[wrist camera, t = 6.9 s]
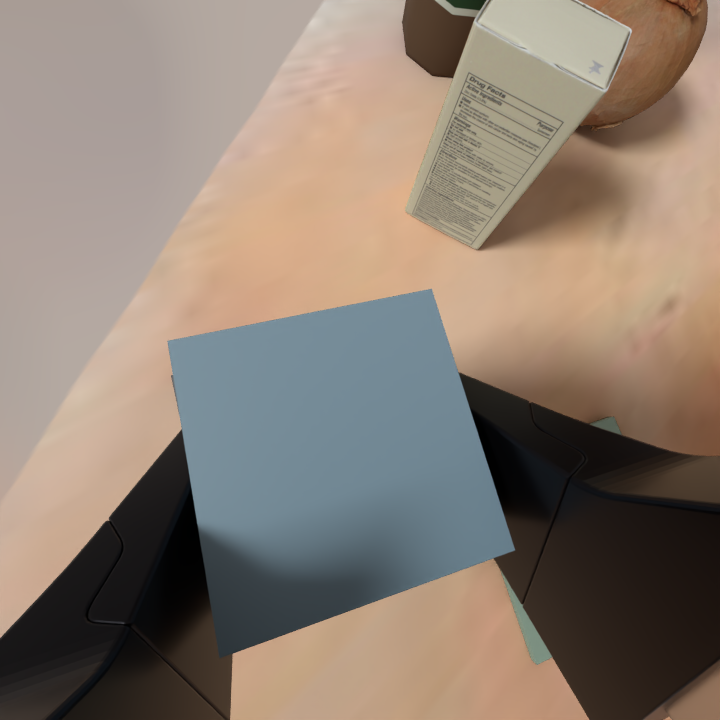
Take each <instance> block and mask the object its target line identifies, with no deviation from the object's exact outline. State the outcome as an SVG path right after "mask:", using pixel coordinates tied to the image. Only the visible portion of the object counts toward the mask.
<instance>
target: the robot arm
mask: <svg viewBox="0 0 720 720" xmlns="http://www.w3.org/2000/svg"><path fill="white" fill-rule="evenodd" d="M458 373H459V372H458ZM459 376H460V379H461V382H462V386H463V389H464V392H465V395H466V398H467V401H468V404H469V407H470V411H471V414H472V417H473V420H474V423H475V426H476V429H477V432H478V436H479V439H480V442H481V445H482V448H483V451H484V454H485V458H486V461H487V464H488V467H489V470H490V473H491V476H492V479H493V483H494V486H495V489H496V492H497V495H498V498H499V501H500V504H501V508H502V511H503V514H504V517H505V520H506V523H507V526H508V529H509V533H510V536H511V539H512V542H513V545H514V548H515V551H512V552H509V553H506V554H504V555H501V556H498V557H495V558H494V559H495V561H496V563H497V565H498V566H499V568H500V570H501V571H502V573H503V575H504V576H505V578H506V580H507V581H508V583H509V585H510V586H511V588H512V590H513V591H514V593H515V595H516V596H517V598H518V600H519V602H520V603H521V604H522V605H523V609H524V610H525V612H526V614H527V615H528V617H529V619H530V620H531V622H532V624H533V625H534V627H535V629H536V630H537V632H538V634H539V636H540V637H541V639H542V641H543V642H544V644H545V646H546V647H547V649H548V651H549V652H550V654H551V656H552V657H553V659H554V661H555V662H556V664H557V666H558V667H559V669H560V671H561V673H562V674H563V676H564V678H565V679H566V681H567V683H568V684H569V686H570V688H571V689H572V691H573V693H574V694H575V696H576V698H577V699H578V701H579V703H580V705H581V706H582V708H583V710H584V711H585V713H586V715H587V716H588V718H589V720H663V719H665V718H667V717H670V718H671V719H672V720H720V456H698V455H689V454H682V453H678V452H673V451H669V450H666V449H662V448H659V447H656V446H653V445H650V444H647V443H644V442H641V441H638V440H635V439H632V438H629V437H626V436H623V435H620V434H617V433H614V432H611V431H608V430H605V429H602V428H599V427H596V426H593V425H591V424H588V423H585V422H582V421H579V420H576V419H573V418H570V417H568V416H565V415H563V414H560V413H558V412H555V411H552V410H550V409H547V408H545V407H542V406H540V405H537V404H535V403H533V402H531V403H529V401H527V400H525V399H523V398H520V397H518V396H515V395H513V394H510V393H508V392H506V391H503V390H501V389H498V388H496V387H493V386H491V385H488V384H486V383H484V382H481V381H479V380H476V379H474V378H471V377H469V376H466V375H464V374H462V373H459ZM231 681H232V654H230V655H227V656H225V657H222V658H219V653H218V646H217V640H216V634H215V628H214V622H213V616H212V610H211V604H210V598H209V591H208V585H207V579H206V573H205V567H204V561H203V555H202V549H201V543H200V537H199V530H198V524H197V518H196V512H195V506H194V500H193V494H192V488H191V482H190V475H189V469H188V463H187V457H186V451H185V445H184V439H183V433H182V430H181V431H180V432H179V433H178V434H177V436H176V437H175V438H174V439H173V440H172V442H171V443H170V444H169V445H168V447H167V448H166V449H165V450H164V451H163V453H162V454H161V455H160V456H159V457H158V459H157V460H156V461H155V462H154V463H153V465H152V466H151V467H150V468H149V470H148V471H147V472H146V473H145V474H144V476H143V477H142V478H141V479H140V480H139V482H138V483H137V484H136V485H135V487H134V488H133V489H132V490H131V491H130V493H129V494H128V495H127V496H126V497H125V499H124V500H123V501H122V502H121V503H120V505H119V506H118V507H117V508H116V510H115V511H114V512H113V513H112V514H111V516H110V517H109V521H106V522H105V523H104V524H103V525H102V526H101V527H100V529H99V530H98V531H97V532H96V534H95V535H94V536H93V537H92V538H91V540H90V541H89V542H88V543H87V544H86V545H85V547H84V548H83V549H82V550H81V551H80V552H79V554H78V555H77V556H76V557H75V558H74V559H73V560H72V562H71V563H70V564H69V565H68V566H67V567H66V568H65V569H64V571H63V572H62V573H61V574H60V575H59V576H58V577H57V578H56V579H55V580H54V581H53V583H52V584H51V585H50V586H49V587H48V588H47V589H46V590H45V591H44V592H43V593H42V595H41V596H40V597H39V598H38V599H37V600H36V601H35V602H34V603H33V604H32V605H31V606H30V607H29V608H28V609H27V610H26V611H25V613H24V614H23V615H22V616H21V617H20V618H19V619H18V620H17V621H16V622H15V623H14V624H13V625H12V626H11V627H10V628H9V629H8V630H7V632H6V633H5V634H4V635H3V636H2V637H1V638H0V720H230V708H231Z"/></svg>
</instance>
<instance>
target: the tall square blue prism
mask: <svg viewBox="0 0 720 720" xmlns="http://www.w3.org/2000/svg"><path fill="white" fill-rule="evenodd" d="M168 347H169V353H170V359H171V366H172V372H173V378H174V384H175V390H176V396H177V402H178V408H179V414H180V421H181V427H182V433H183V439H184V445H185V451H186V457H187V463H188V469H189V475H190V482H191V488H192V494H193V500H194V506H195V512H196V518H197V524H198V530H199V537H200V543H201V549H202V555H203V561H204V567H205V573H206V579H207V585H208V591H209V598H210V604H211V610H212V616H213V622H214V628H215V634H216V640H217V646H218V653H219V658H222V657H225V656H227V655H230V654H233V653H236V652H238V651H241V650H244V649H246V648H249V647H252V646H255V645H257V644H260V643H263V642H266V641H268V640H271V639H274V638H277V637H279V636H282V635H285V634H288V633H290V632H293V631H296V630H298V629H301V628H304V627H307V626H309V625H312V624H315V623H318V622H320V621H323V620H326V619H329V618H331V617H334V616H337V615H340V614H342V613H345V612H348V611H350V610H353V609H356V608H359V607H361V606H364V605H367V604H370V603H372V602H375V601H378V600H381V599H383V598H386V597H389V596H391V595H394V594H397V593H400V592H402V591H405V590H408V589H411V588H413V587H416V586H419V585H422V584H424V583H427V582H430V581H433V580H435V579H438V578H441V577H443V576H446V575H449V574H452V573H454V572H457V571H460V570H463V569H465V568H468V567H471V566H474V565H476V564H479V563H482V562H485V561H487V560H490V559H493V558H495V557H498V556H501V555H504V554H506V553H509V552H512V551H515V548H514V545H513V542H512V539H511V536H510V533H509V529H508V526H507V523H506V520H505V517H504V514H503V511H502V508H501V504H500V501H499V498H498V495H497V492H496V489H495V486H494V483H493V479H492V476H491V473H490V470H489V467H488V464H487V461H486V458H485V454H484V451H483V448H482V445H481V442H480V439H479V436H478V432H477V429H476V426H475V423H474V420H473V417H472V414H471V411H470V407H469V404H468V401H467V398H466V395H465V392H464V389H463V386H462V382H461V379H460V376H459V373H458V370H457V367H456V364H455V361H454V357H453V354H452V351H451V348H450V345H449V342H448V339H447V335H446V332H445V329H444V326H443V323H442V320H441V317H440V314H439V310H438V307H437V304H436V301H435V298H434V295H433V292H432V289H429V290H423V291H418V292H413V293H408V294H403V295H398V296H393V297H388V298H383V299H378V300H373V301H368V302H363V303H358V304H352V305H347V306H342V307H337V308H332V309H327V310H322V311H317V312H312V313H307V314H302V315H297V316H292V317H287V318H282V319H276V320H271V321H266V322H261V323H256V324H251V325H246V326H241V327H236V328H231V329H226V330H221V331H216V332H211V333H206V334H200V335H195V336H190V337H185V338H180V339H175V340H170V341H168Z"/></svg>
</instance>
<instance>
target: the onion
mask: <svg viewBox="0 0 720 720" xmlns="http://www.w3.org/2000/svg"><path fill="white" fill-rule="evenodd" d="M578 1H580V2H582V3H585V4H587V5H588V6H590V7H592V8H594V9H596V10H598V11H600V12H602V13H603V14H604V15H607V16H609V17H610V18H612V19H614V20H616V21H618V22H620V23H621V24H623V25H625V26H627V27H629V28H631V30H632V33H631V36H630V39H629V41H628V45H627V48H626V50H625V52H624V55H623V57H622V60H621V62H620V64H619V66H618V69H617V71H616V73H615V75H614V78H613V80H612V82H611V84H610V86H609V88H608V91H607V92H606V93H605V94H604V96H603V97H602V98H601V100H600V101H599V102H598V103H597V104H596V106H595V107H594V108H593V109H592V110H591V112H590V113H589V114H588V115H587V116H586V118H585V119H584V120H583V121H582V123H581V124H580V126H583V125H591V126H593V127H592V128H591V130H595V132H597V130H598V129H601V128H613V127H615V126H618V125H620V124H622V123H623V121H624V120H626V119H629V118H631V117H633V116H635V115H637V114H639V113H640V112H642V111H644V110H646V109H647V108H649V107H650V106H652V105H653V104H654V103H656V102H657V101H658V100H660V99H661V98H662V97H663V96H664V95H665V94H667V93H668V92H669V91H670V90H671V89H672V88H673V87H674V85H675V84H676V83H677V82H678V80H679V79H680V78H681V76H682V75H683V74H684V72H685V71H686V70H687V68H688V67H689V65H690V63H691V62H692V60H693V58H694V56H695V54H696V52H697V50H698V48H699V46H700V43H701V41H702V38H703V35H704V32H705V30H706V25H707V13H708V6H707V0H578Z"/></svg>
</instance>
